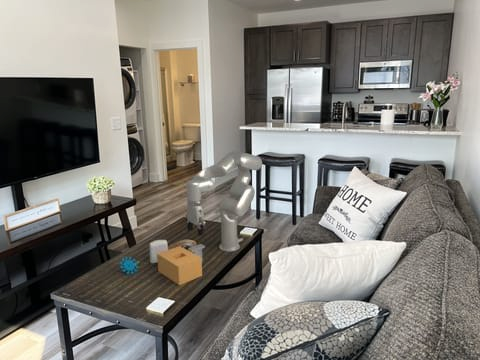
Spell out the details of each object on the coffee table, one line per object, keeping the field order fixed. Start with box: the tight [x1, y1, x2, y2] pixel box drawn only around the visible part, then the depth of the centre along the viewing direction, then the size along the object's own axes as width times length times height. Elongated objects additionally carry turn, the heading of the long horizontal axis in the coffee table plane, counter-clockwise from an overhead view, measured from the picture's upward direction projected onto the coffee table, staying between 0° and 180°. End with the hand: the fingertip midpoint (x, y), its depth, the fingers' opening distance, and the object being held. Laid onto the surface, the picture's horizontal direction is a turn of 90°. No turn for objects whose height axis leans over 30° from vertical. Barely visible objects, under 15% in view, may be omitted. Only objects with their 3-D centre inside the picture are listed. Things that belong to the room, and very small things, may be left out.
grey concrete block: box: [187, 243, 206, 260], centre depth 199 cm, size 9×4×9 cm, turn 133°
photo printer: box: [149, 239, 169, 264], centre depth 201 cm, size 10×4×12 cm, turn 116°
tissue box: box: [157, 245, 203, 286], centre depth 187 cm, size 14×20×10 cm
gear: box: [119, 256, 140, 275], centre depth 190 cm, size 11×6×10 cm
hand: (195, 232), depth 196 cm, fingers open, 9 cm apart
